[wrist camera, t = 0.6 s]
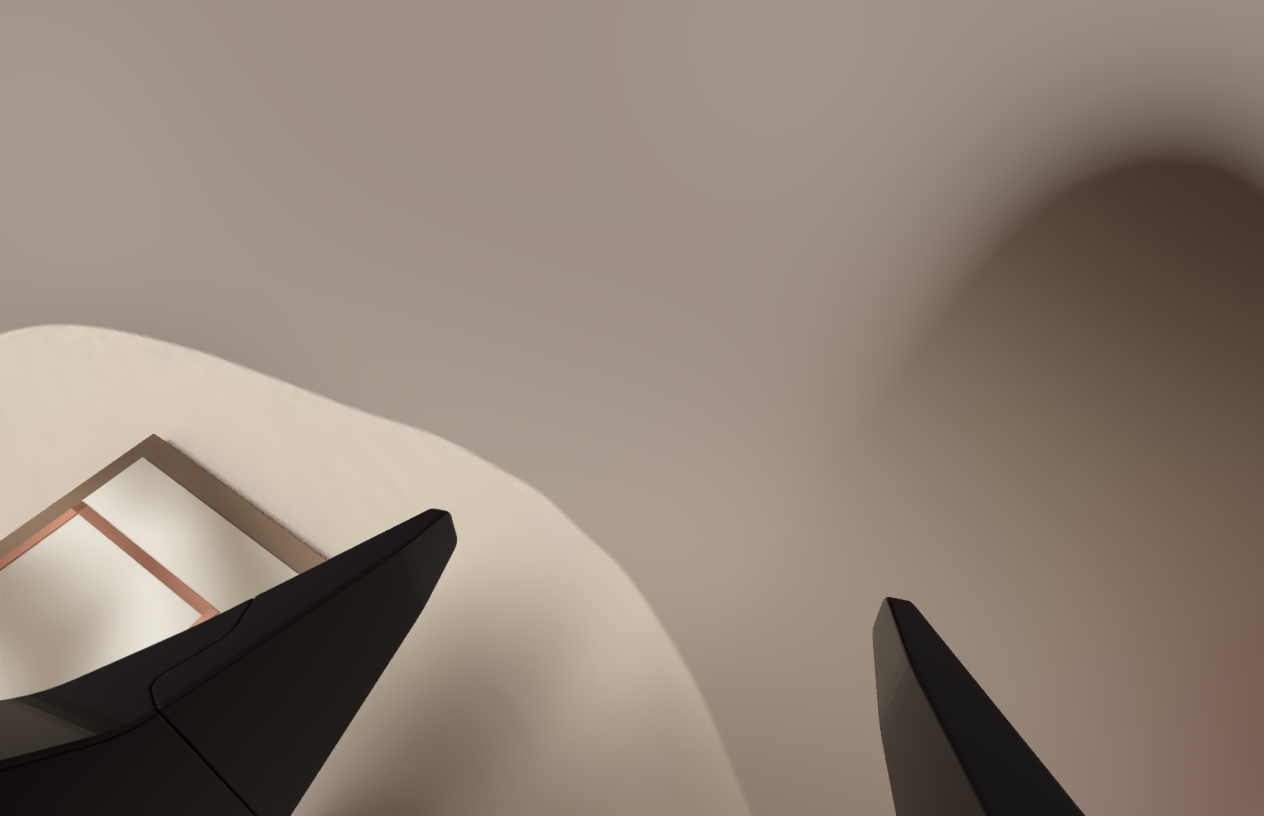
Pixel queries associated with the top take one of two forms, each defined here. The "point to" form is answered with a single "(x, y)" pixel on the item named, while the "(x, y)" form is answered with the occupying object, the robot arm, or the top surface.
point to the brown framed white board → (131, 566)
